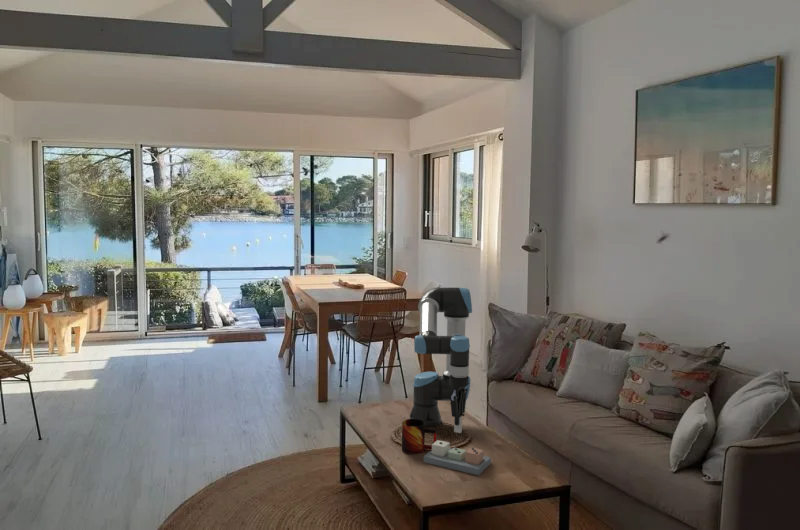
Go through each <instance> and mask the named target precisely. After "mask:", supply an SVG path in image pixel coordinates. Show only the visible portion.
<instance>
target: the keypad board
mask: <svg viewBox="0 0 800 530" xmlns="http://www.w3.org/2000/svg"><path fill="white" fill-rule="evenodd" d="M451 449H453V448H451V447H450V450H451ZM423 463H427V464H430V465H435V466H438V467H442V468H447V469H451V470H455V471H459V472H463V473H467V474H473V475H477V476H479V475H480V474H481V473H483V471H484V470H486V469H487V468H488V466H490V465H491V463H492V457H490V456H487V455H484V457H483V461H482V462H481V463H480V464H479V465H475V464H471V463H467V462H465V459H463V460H462V461H458V460H454V459H450V458H448V454H447V455H446V456H444V457H441V456H437V455H433V454H432V449H430V450H429V452H427V453H426V454H424V456H423Z"/></svg>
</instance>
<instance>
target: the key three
mask: <svg viewBox="0 0 800 530" xmlns="http://www.w3.org/2000/svg"><path fill="white" fill-rule="evenodd" d="M484 451H485V450H484V449H480V448H476V447H470V448H468V449H466V453H465V462H467V463H471V464H475V465H480V463H481V462H482V461H483V457H484V456H485V455H484V453H485V452H484Z"/></svg>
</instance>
